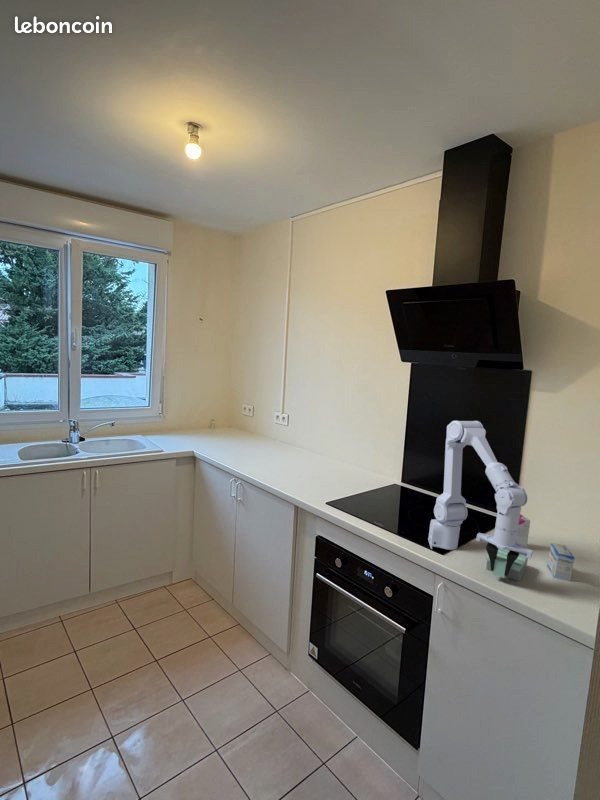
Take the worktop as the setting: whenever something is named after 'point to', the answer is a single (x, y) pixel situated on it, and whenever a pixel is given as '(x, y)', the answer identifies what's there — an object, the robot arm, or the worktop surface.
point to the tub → (511, 571)
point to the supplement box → (523, 531)
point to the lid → (502, 561)
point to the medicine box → (560, 562)
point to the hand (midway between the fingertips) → (499, 571)
